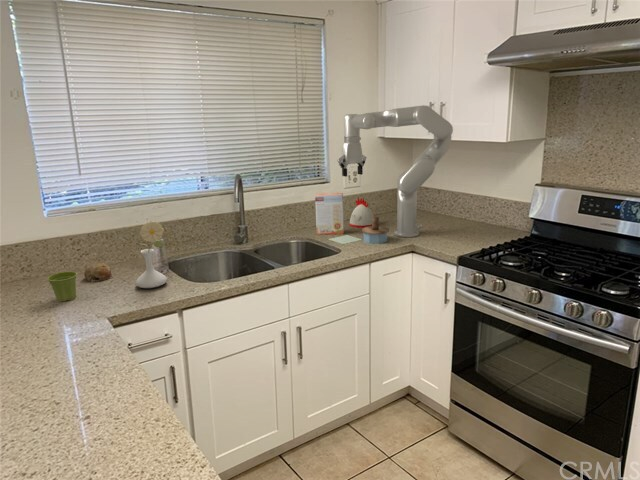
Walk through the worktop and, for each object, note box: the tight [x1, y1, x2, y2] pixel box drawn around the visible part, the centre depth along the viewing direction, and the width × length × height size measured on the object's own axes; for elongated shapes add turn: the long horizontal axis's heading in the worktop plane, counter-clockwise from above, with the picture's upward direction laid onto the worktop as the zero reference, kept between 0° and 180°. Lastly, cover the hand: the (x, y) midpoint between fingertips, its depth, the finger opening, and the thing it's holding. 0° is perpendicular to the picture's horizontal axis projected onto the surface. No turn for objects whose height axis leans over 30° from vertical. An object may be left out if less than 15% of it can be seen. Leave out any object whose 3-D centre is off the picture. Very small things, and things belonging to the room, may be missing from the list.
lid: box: [361, 216, 390, 234], centre depth 229 cm, size 13×13×7 cm
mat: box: [328, 234, 363, 245], centre depth 235 cm, size 12×12×1 cm
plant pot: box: [46, 271, 78, 302], centre depth 170 cm, size 9×9×9 cm
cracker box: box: [314, 192, 345, 236], centre depth 245 cm, size 14×6×21 cm, turn 84°
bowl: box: [362, 232, 388, 244], centre depth 231 cm, size 11×11×5 cm
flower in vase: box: [135, 220, 168, 289], centre depth 178 cm, size 13×11×25 cm
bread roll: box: [84, 262, 112, 283], centre depth 191 cm, size 10×10×8 cm
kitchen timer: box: [349, 197, 375, 229], centre depth 261 cm, size 14×14×15 cm
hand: (352, 175), depth 237 cm, fingers open, 9 cm apart
